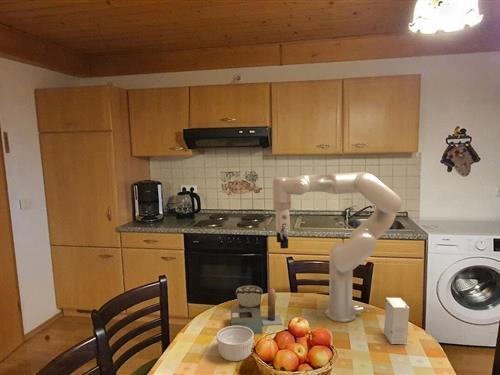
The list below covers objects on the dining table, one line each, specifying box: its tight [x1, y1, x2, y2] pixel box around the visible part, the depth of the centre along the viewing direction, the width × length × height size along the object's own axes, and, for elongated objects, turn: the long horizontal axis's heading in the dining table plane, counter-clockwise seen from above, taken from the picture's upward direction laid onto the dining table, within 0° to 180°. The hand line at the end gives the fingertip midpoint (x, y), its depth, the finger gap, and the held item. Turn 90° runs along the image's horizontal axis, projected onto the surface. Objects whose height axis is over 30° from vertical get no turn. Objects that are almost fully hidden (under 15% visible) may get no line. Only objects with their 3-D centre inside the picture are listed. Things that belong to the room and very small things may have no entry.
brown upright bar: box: [267, 287, 276, 321], centre depth 149 cm, size 3×3×13 cm
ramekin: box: [216, 325, 255, 362], centre depth 126 cm, size 13×13×7 cm
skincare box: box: [383, 297, 410, 345], centre depth 133 cm, size 8×6×15 cm
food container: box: [235, 285, 264, 311], centre depth 161 cm, size 12×6×10 cm, turn 84°
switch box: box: [230, 308, 263, 335], centre depth 145 cm, size 12×12×5 cm
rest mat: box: [261, 314, 283, 327], centre depth 150 cm, size 8×8×1 cm
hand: (282, 245), depth 154 cm, fingers open, 9 cm apart
